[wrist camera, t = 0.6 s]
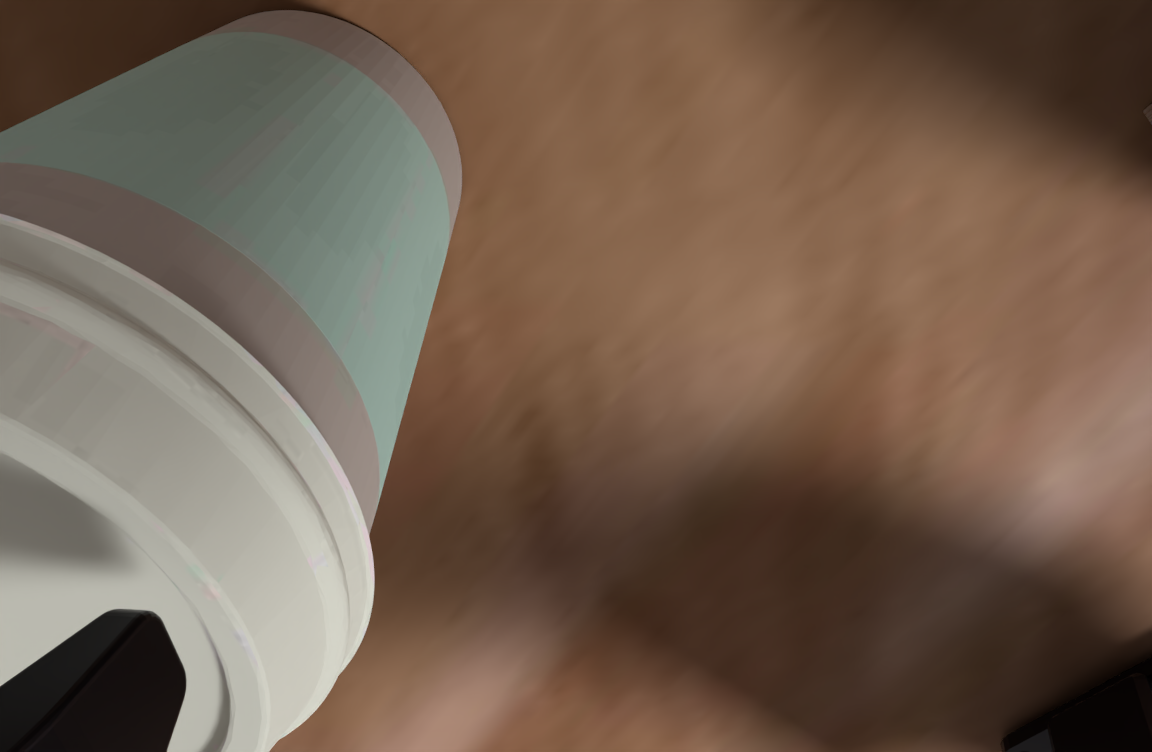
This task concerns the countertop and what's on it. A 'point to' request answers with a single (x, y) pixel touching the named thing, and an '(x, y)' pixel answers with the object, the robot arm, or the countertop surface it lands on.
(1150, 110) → the grey rectangular block
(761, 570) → the countertop surface
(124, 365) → the coffee cup
